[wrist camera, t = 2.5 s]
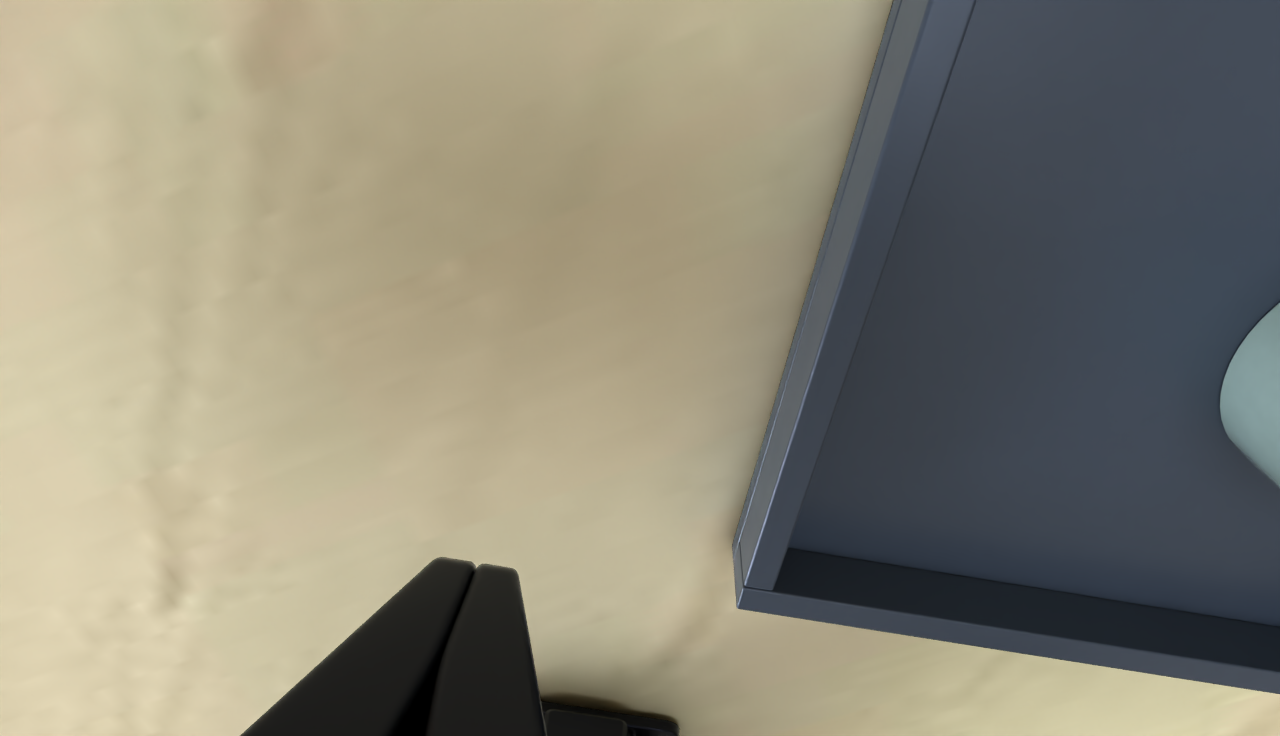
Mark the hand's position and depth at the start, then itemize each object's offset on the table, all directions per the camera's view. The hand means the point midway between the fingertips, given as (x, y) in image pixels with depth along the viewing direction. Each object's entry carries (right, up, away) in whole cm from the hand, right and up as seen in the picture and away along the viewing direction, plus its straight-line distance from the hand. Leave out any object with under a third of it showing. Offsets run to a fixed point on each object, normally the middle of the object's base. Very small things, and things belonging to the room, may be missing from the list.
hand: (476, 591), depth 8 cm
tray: (+14, +3, +10) cm, 18 cm away
